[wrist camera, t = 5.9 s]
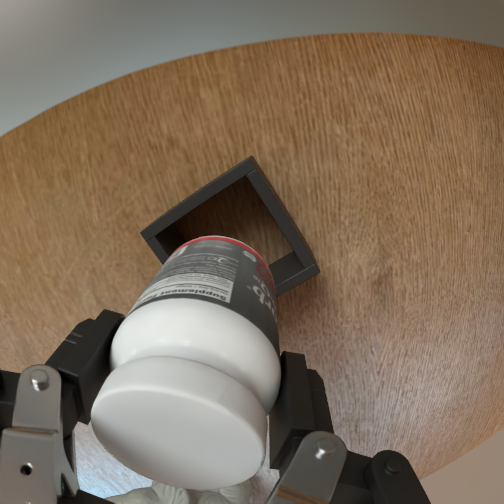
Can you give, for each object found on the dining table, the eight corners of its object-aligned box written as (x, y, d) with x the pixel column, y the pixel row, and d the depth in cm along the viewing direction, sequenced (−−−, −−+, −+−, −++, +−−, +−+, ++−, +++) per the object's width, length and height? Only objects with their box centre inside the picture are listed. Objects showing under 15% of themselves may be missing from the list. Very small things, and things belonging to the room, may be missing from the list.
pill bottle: (278, 330, 17) (288, 498, 8) (175, 335, 17) (119, 487, 8) (269, 226, 15) (281, 368, 6) (153, 237, 15) (37, 363, 6)
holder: (158, 217, 25) (139, 232, 21) (252, 155, 24) (249, 157, 19) (220, 302, 28) (213, 331, 24) (311, 250, 26) (321, 272, 22)
